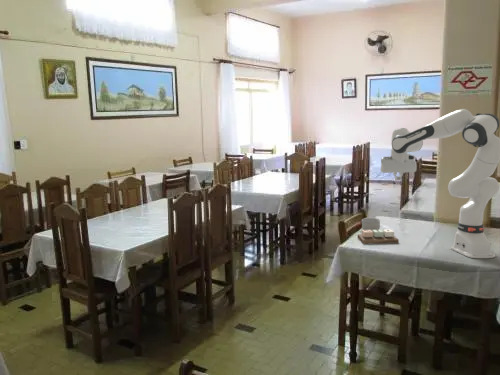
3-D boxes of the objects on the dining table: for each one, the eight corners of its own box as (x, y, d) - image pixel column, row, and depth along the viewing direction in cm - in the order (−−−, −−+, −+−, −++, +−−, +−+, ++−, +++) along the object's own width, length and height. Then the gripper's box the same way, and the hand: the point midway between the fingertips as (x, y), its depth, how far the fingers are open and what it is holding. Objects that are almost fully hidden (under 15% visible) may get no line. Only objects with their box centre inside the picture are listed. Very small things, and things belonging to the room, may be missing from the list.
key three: (372, 240, 250) (373, 231, 249) (364, 240, 250) (364, 231, 249) (370, 237, 255) (370, 229, 254) (361, 237, 255) (361, 229, 254)
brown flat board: (398, 242, 247) (398, 239, 246) (363, 243, 246) (363, 240, 246) (391, 236, 259) (391, 233, 258) (357, 237, 258) (357, 234, 258)
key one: (393, 239, 250) (394, 231, 249) (385, 240, 250) (385, 231, 249) (390, 237, 255) (391, 229, 254) (382, 237, 255) (382, 229, 254)
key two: (383, 240, 250) (383, 231, 249) (374, 240, 250) (374, 231, 249) (380, 237, 255) (380, 229, 254) (371, 237, 255) (372, 229, 254)
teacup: (380, 235, 262) (380, 222, 261) (361, 234, 265) (362, 221, 263) (378, 229, 276) (378, 216, 274) (360, 228, 278) (360, 216, 277)
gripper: (383, 157, 251) (382, 181, 254) (418, 156, 252) (417, 180, 254) (379, 156, 257) (378, 179, 260) (413, 155, 258) (412, 178, 260)
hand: (397, 180), depth 257 cm, fingers closed
